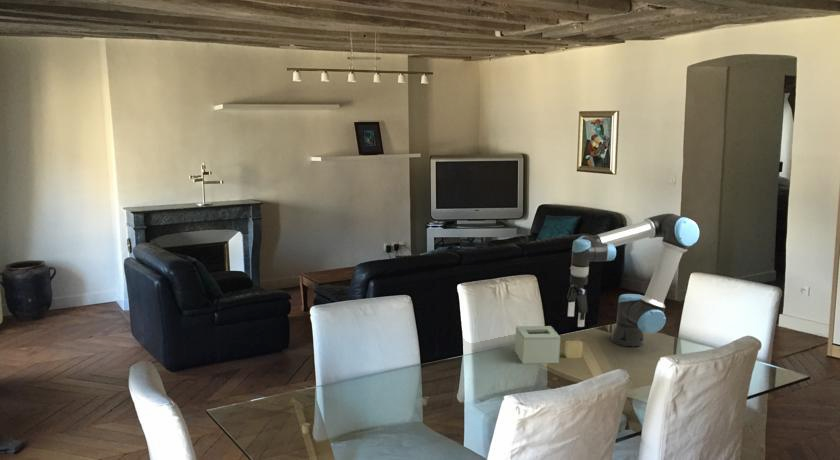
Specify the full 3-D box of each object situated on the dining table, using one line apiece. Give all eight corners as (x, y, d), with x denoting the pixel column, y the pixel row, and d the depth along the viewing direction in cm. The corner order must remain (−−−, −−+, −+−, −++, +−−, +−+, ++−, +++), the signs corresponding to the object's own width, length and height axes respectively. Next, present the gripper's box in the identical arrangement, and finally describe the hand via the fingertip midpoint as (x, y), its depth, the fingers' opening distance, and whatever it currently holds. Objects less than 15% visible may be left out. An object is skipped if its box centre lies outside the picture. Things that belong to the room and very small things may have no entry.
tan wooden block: (579, 355, 323) (580, 340, 322) (581, 357, 321) (583, 343, 319) (564, 355, 323) (565, 340, 321) (566, 358, 320) (567, 343, 318)
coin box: (548, 351, 327) (550, 326, 325) (558, 363, 314) (560, 337, 311) (514, 351, 325) (516, 326, 323) (522, 363, 312) (524, 337, 309)
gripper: (561, 267, 325) (558, 312, 330) (580, 282, 301) (576, 331, 306) (578, 267, 326) (574, 312, 331) (597, 282, 302) (593, 330, 307)
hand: (575, 321), depth 318 cm, fingers open, 13 cm apart
